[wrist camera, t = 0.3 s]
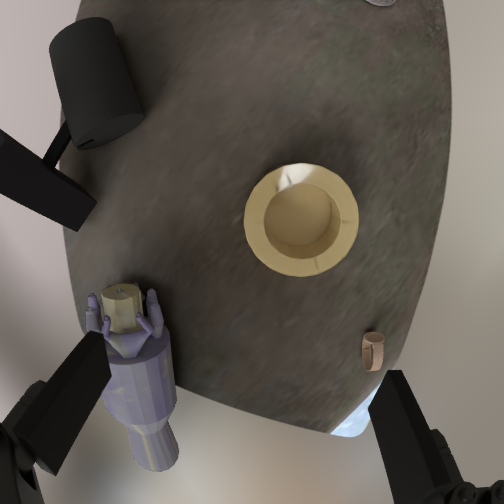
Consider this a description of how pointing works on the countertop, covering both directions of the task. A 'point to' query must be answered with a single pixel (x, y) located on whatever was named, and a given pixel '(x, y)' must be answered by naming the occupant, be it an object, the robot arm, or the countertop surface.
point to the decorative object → (138, 371)
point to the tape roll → (301, 219)
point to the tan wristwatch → (376, 340)
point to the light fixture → (74, 121)
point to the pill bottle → (381, 2)
